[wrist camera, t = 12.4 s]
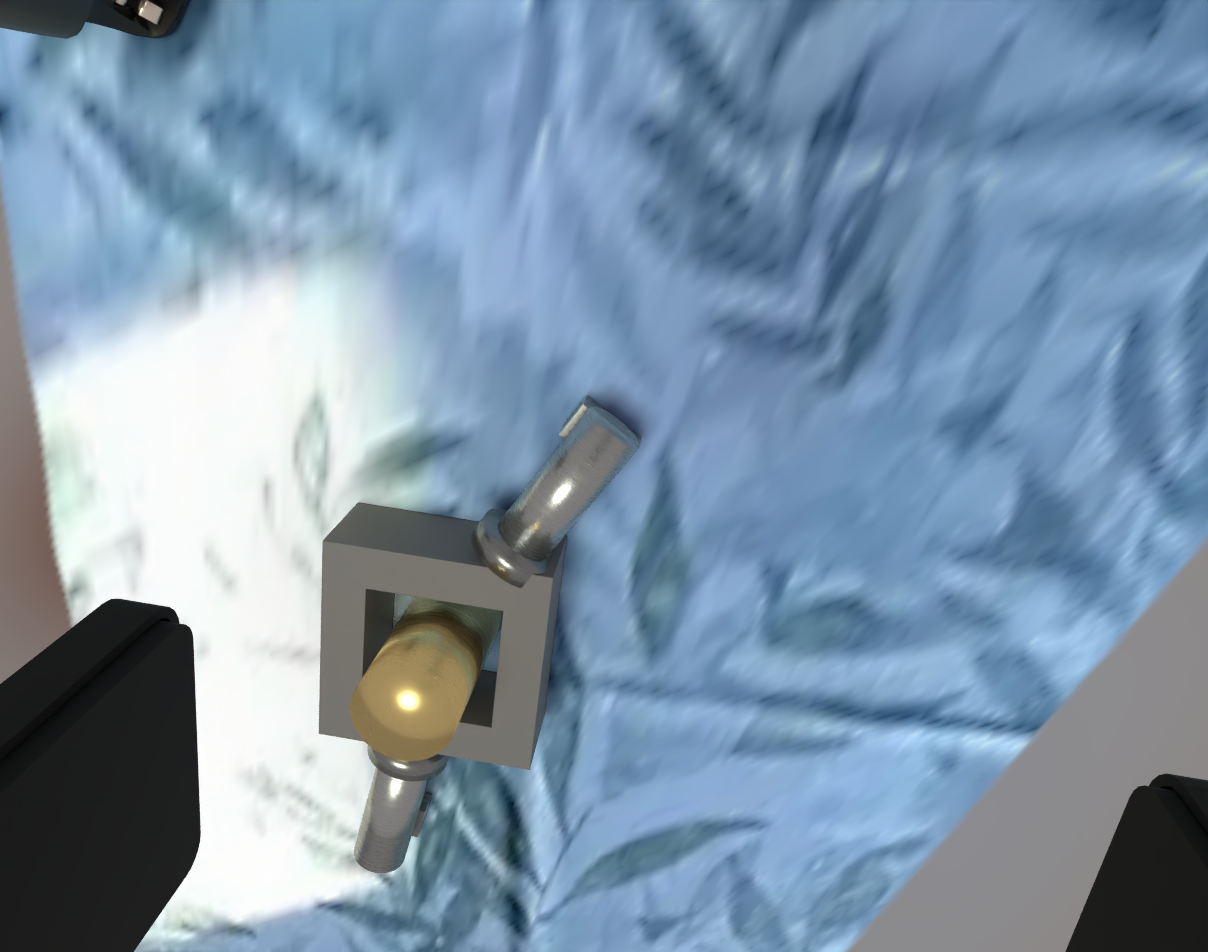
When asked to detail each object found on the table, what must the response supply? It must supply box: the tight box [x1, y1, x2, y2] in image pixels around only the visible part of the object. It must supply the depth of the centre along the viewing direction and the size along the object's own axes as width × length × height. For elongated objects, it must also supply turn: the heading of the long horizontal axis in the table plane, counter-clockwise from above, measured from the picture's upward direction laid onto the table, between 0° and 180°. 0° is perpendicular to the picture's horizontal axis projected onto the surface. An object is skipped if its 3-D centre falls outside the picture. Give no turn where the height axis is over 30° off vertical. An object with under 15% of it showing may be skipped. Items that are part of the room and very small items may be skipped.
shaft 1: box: [354, 745, 449, 873], centre depth 42 cm, size 7×4×4 cm, turn 163°
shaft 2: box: [471, 396, 641, 588], centre depth 36 cm, size 7×4×4 cm, turn 143°
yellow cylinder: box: [350, 597, 502, 761], centre depth 38 cm, size 4×4×8 cm
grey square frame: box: [319, 503, 567, 770], centre depth 39 cm, size 9×9×4 cm
